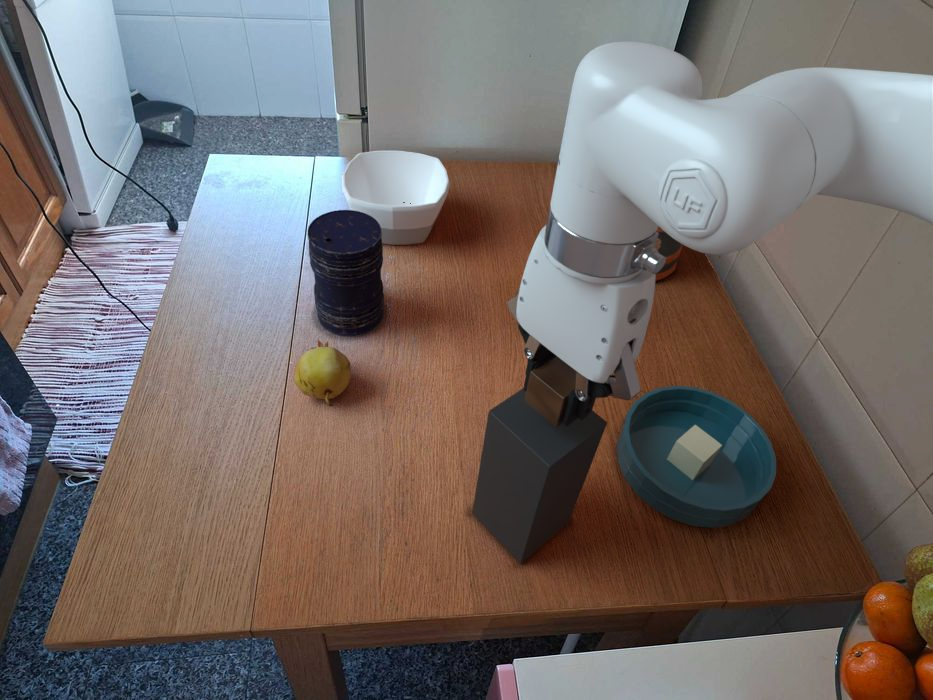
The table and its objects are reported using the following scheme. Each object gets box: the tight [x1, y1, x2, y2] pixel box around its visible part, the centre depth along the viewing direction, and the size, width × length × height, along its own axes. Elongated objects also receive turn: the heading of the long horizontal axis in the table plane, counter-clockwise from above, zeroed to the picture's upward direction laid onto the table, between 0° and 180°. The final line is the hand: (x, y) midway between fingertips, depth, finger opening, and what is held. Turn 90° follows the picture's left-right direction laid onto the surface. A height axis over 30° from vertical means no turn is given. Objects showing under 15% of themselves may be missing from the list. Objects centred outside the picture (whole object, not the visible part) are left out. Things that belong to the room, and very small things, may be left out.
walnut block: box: [525, 356, 576, 427], centre depth 58 cm, size 4×4×4 cm
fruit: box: [293, 339, 352, 408], centre depth 83 cm, size 7×7×10 cm
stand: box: [471, 388, 608, 565], centre depth 68 cm, size 8×8×19 cm
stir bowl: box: [615, 385, 777, 529], centre depth 80 cm, size 18×18×4 cm
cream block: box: [667, 425, 722, 480], centre depth 80 cm, size 4×4×4 cm
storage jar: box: [307, 209, 385, 338], centre depth 90 cm, size 10×10×15 cm
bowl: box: [340, 150, 451, 246], centre depth 109 cm, size 18×18×9 cm
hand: (555, 399), depth 59 cm, fingers closed on walnut block, 4 cm apart
